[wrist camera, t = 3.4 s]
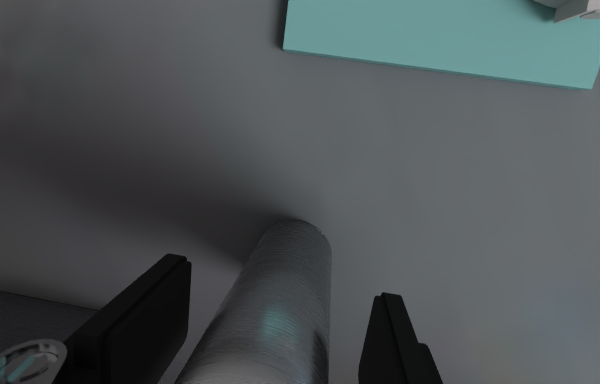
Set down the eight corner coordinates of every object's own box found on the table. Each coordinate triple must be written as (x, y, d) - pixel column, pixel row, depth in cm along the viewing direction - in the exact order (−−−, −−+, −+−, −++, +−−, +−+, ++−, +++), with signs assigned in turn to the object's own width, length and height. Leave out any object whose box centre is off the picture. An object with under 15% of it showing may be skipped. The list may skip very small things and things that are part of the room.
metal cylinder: (337, 226, 14) (347, 770, 2) (325, 294, 15) (288, 938, 3) (261, 213, 14) (-63, 655, 3) (253, 281, 15) (-15, 838, 4)
